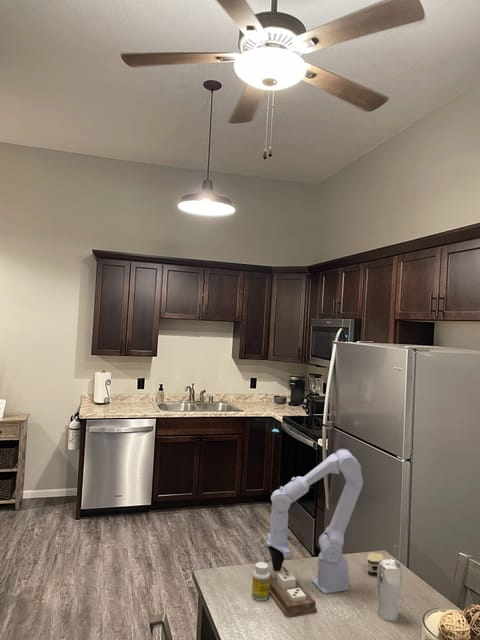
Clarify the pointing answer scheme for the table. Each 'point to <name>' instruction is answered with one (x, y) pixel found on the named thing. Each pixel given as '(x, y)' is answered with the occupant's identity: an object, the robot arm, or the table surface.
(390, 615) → the beer glass
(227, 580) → the table surface
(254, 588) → the supplement bottle
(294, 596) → the key three
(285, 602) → the brown wooden tray
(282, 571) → the key one
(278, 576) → the key two
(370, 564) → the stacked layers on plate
